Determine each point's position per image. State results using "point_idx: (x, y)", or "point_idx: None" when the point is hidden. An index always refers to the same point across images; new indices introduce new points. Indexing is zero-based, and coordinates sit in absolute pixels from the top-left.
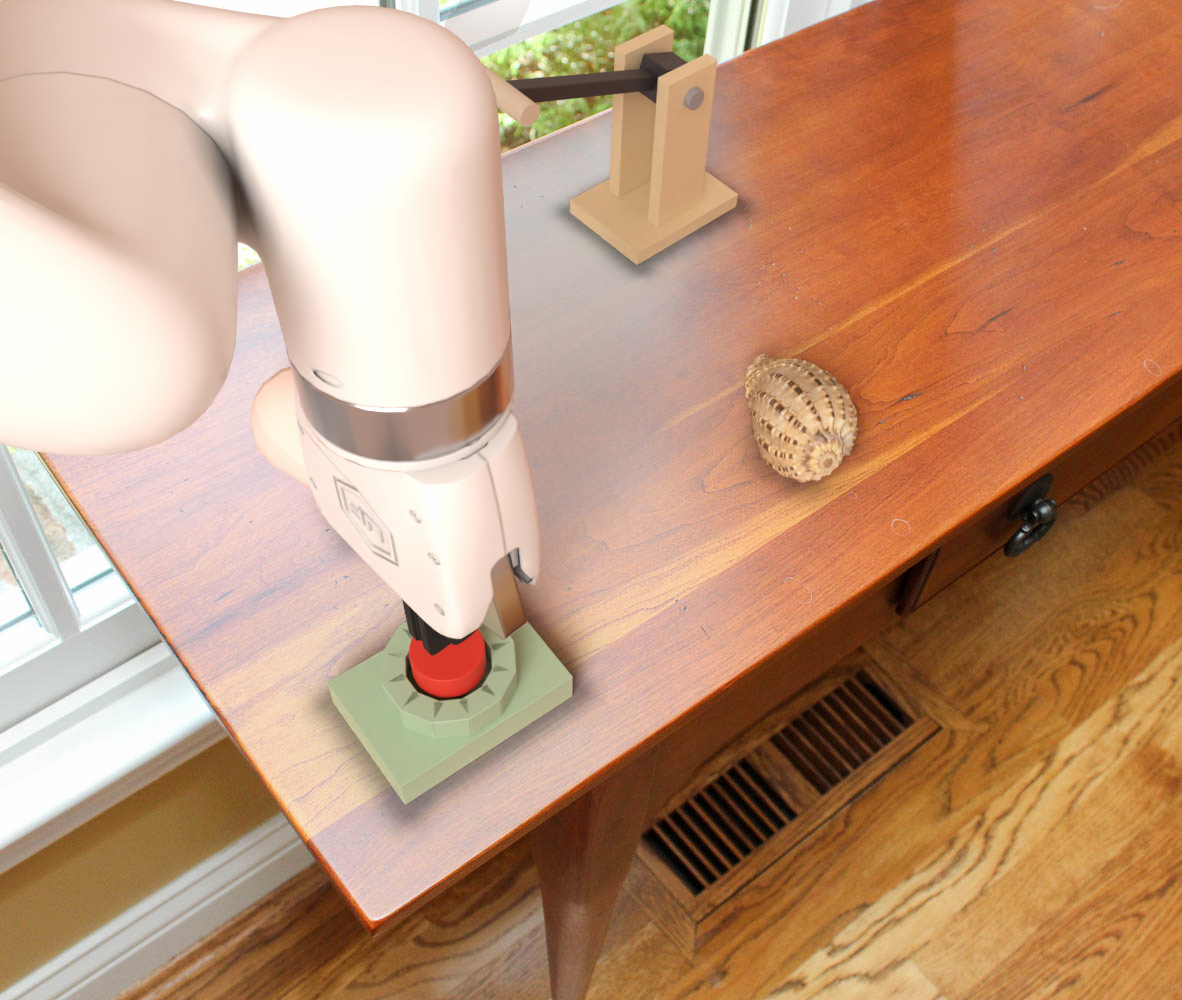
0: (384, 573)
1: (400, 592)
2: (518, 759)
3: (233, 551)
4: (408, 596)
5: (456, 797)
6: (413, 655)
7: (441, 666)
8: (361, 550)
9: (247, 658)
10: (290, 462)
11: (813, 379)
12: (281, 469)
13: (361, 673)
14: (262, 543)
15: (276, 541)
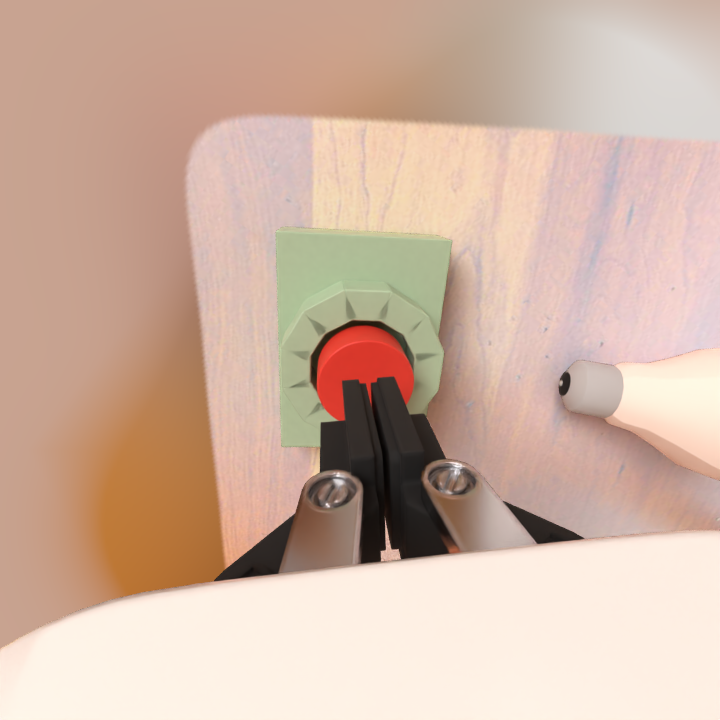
0: (396, 639)
1: (290, 620)
2: (258, 348)
3: (662, 253)
4: (219, 673)
5: (257, 275)
6: (385, 349)
7: (348, 367)
8: (556, 620)
9: (550, 189)
10: (709, 369)
11: None
12: (704, 353)
13: (433, 279)
14: (644, 283)
15: (634, 296)
